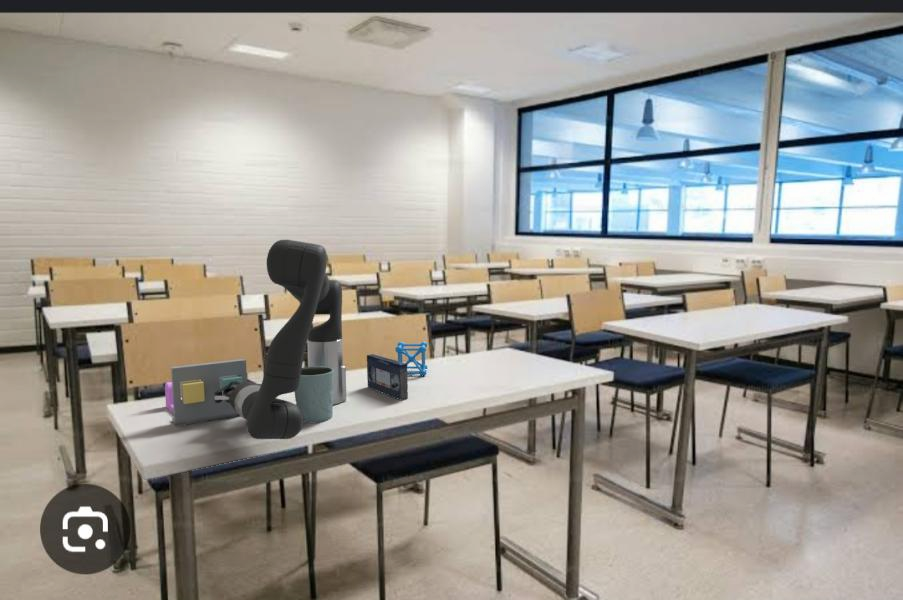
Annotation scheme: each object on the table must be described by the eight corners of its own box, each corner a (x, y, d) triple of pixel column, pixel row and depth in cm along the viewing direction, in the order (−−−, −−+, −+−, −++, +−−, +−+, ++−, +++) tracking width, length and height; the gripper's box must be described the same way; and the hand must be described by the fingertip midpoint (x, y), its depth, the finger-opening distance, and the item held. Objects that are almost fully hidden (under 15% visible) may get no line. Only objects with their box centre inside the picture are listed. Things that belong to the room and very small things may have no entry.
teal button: (236, 389, 153) (235, 372, 152) (243, 395, 148) (242, 377, 147) (217, 392, 150) (216, 374, 150) (223, 398, 145) (222, 379, 145)
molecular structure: (426, 377, 191) (426, 346, 190) (395, 377, 191) (394, 346, 190) (427, 370, 201) (427, 340, 200) (398, 370, 201) (397, 340, 200)
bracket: (166, 406, 158) (164, 381, 158) (188, 403, 162) (186, 378, 161) (179, 418, 148) (178, 391, 148) (202, 414, 152) (201, 387, 151)
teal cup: (342, 417, 148) (341, 370, 147) (306, 426, 141) (305, 377, 140) (321, 409, 155) (320, 364, 154) (285, 417, 149) (284, 370, 147)
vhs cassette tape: (366, 387, 178) (366, 354, 177) (375, 385, 180) (375, 353, 179) (399, 400, 164) (398, 365, 162) (408, 399, 165) (407, 363, 164)
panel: (243, 409, 155) (240, 356, 154) (248, 414, 151) (246, 360, 150) (172, 420, 146) (169, 364, 145) (175, 426, 142) (172, 368, 140)
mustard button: (199, 395, 148) (198, 377, 148) (204, 401, 143) (203, 382, 142) (179, 398, 145) (178, 379, 145) (183, 404, 140) (182, 385, 140)
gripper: (281, 381, 135) (259, 367, 149) (220, 389, 128) (203, 374, 142) (282, 413, 136) (260, 396, 150) (222, 423, 128) (205, 404, 143)
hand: (233, 385), depth 146 cm, fingers closed
